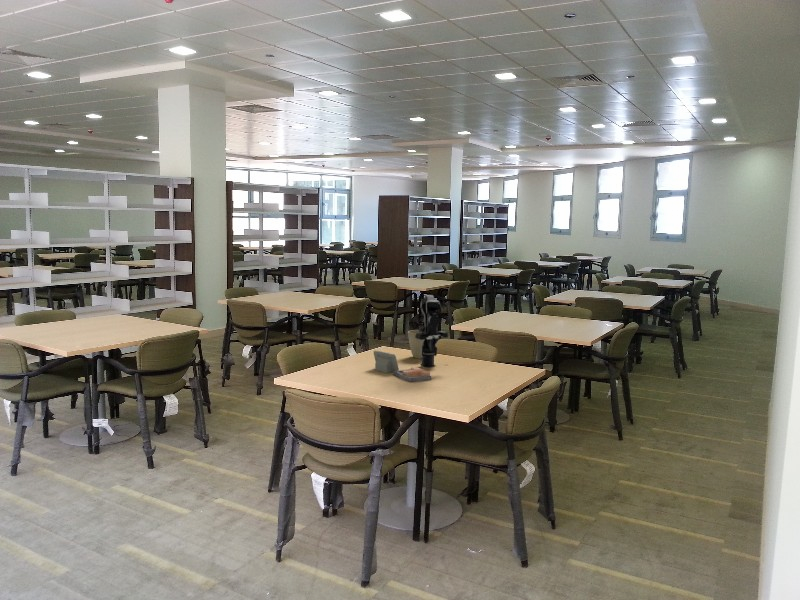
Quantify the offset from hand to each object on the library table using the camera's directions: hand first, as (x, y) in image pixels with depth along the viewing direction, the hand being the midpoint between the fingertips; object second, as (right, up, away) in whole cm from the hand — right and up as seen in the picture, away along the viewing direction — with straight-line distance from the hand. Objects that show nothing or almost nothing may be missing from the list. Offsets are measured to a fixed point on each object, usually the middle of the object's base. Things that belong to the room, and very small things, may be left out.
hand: (431, 350), depth 356 cm
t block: (-10, -13, -13) cm, 21 cm away
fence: (-11, -13, -14) cm, 22 cm away
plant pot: (-6, -7, +38) cm, 39 cm away
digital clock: (-26, -12, 0) cm, 28 cm away
